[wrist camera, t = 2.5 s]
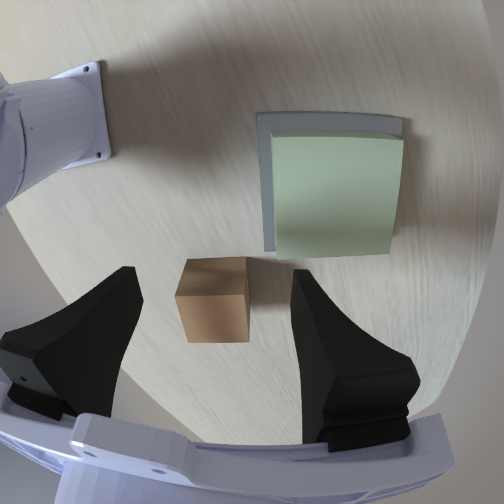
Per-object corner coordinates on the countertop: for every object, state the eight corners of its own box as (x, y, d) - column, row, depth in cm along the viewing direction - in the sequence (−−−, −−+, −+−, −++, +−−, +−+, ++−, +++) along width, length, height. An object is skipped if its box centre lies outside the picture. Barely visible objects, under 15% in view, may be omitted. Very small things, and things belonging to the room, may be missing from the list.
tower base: (263, 235, 24) (264, 251, 22) (256, 112, 19) (256, 114, 17) (378, 230, 24) (388, 245, 22) (388, 114, 19) (402, 118, 17)
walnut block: (197, 303, 27) (188, 342, 23) (187, 258, 25) (174, 296, 21) (250, 301, 27) (249, 342, 23) (246, 255, 25) (244, 294, 20)
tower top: (275, 241, 22) (277, 259, 20) (270, 131, 18) (272, 137, 15) (377, 236, 21) (389, 253, 19) (387, 133, 17) (403, 140, 15)
